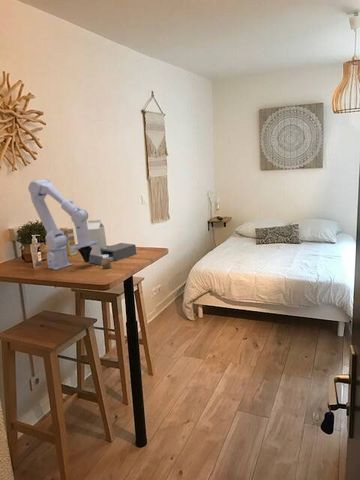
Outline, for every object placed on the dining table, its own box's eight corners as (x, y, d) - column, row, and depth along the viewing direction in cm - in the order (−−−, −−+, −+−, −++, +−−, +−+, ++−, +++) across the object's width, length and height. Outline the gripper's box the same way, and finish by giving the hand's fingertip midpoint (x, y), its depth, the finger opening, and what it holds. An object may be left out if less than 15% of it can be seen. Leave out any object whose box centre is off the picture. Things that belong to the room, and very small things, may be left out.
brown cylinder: (106, 269, 180) (104, 261, 179) (101, 268, 183) (99, 260, 182) (112, 267, 183) (111, 259, 182) (107, 266, 185) (106, 258, 185)
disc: (111, 257, 196) (110, 254, 195) (102, 260, 192) (102, 257, 191) (104, 256, 199) (104, 253, 199) (95, 259, 195) (95, 256, 195)
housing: (115, 260, 194) (114, 250, 193) (101, 258, 202) (100, 248, 201) (136, 254, 204) (135, 244, 203) (122, 251, 212) (120, 242, 211)
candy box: (77, 254, 217) (73, 227, 214) (70, 256, 214) (66, 229, 211) (70, 252, 223) (65, 226, 220) (63, 254, 220) (59, 228, 217)
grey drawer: (101, 264, 188) (100, 256, 187) (87, 262, 196) (86, 254, 195) (124, 257, 198) (123, 249, 197) (109, 255, 206) (108, 247, 205)
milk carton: (102, 255, 207) (97, 221, 203) (90, 256, 209) (85, 222, 205) (107, 252, 214) (102, 219, 210) (95, 253, 216) (90, 219, 212)
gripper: (74, 238, 178) (78, 266, 180) (99, 232, 188) (103, 259, 191) (66, 237, 182) (70, 265, 185) (91, 231, 193) (95, 257, 195)
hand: (86, 262), depth 188 cm, fingers closed
